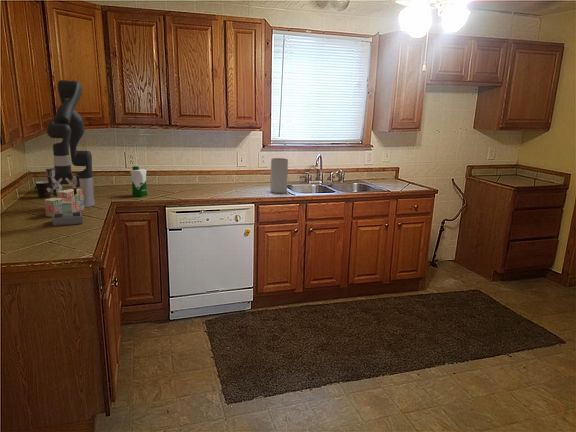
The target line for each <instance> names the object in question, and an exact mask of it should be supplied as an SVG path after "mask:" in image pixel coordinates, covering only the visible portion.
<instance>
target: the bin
mask: <svg viewBox="0 0 576 432" xmlns="http://www.w3.org/2000/svg"><path fill="white" fill-rule="evenodd" d="M72 213H73V217H63V215H62V213H56V214H53V217H51V218H52V220H51V221H52V226H53V227H57V226H58V227H59V226H71V225H73V226H75V225H83V215H82V211H77V212H72Z"/></svg>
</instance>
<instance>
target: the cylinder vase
mask: <svg viewBox="0 0 576 432" xmlns="http://www.w3.org/2000/svg"><path fill="white" fill-rule="evenodd" d="M288 163H289V159H288V158H283V157H282V158H281V157H273V158H271V161H270V192H271V193H272V192H273V193H274V194H285V193H287V191H288V173H289V172H288V169H289V167H288V166H289V164H288Z"/></svg>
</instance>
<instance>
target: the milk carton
mask: <svg viewBox="0 0 576 432" xmlns="http://www.w3.org/2000/svg"><path fill="white" fill-rule="evenodd" d="M129 171H130V175H131V188H132V190H131V194H132V195H131V196H132V197H137V198H143V197H146V196H148V191H147V171H148V170H147V169H143V168H140V167H139V166H135V165H134V166H132V169H130V170H129Z"/></svg>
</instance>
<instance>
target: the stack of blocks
mask: <svg viewBox="0 0 576 432" xmlns="http://www.w3.org/2000/svg"><path fill="white" fill-rule="evenodd" d="M62 202H72V212H82V211H85V207H84V195H83V189H77V194H75V195H74V189H73V188H70V189H64V190H62V191H59V192H58V193H57V196H56V197H50V198H45V199H44V210H45V216H46V217H51V218H53V214H56V213H62Z"/></svg>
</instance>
